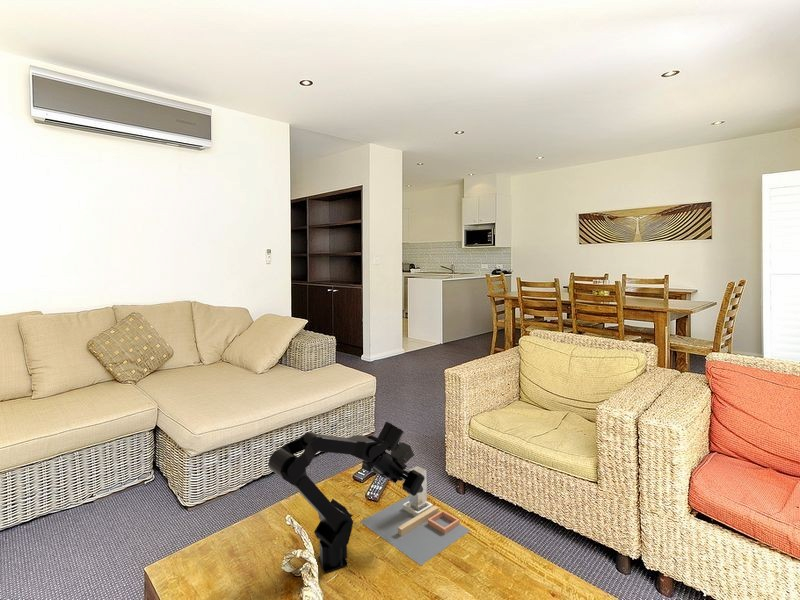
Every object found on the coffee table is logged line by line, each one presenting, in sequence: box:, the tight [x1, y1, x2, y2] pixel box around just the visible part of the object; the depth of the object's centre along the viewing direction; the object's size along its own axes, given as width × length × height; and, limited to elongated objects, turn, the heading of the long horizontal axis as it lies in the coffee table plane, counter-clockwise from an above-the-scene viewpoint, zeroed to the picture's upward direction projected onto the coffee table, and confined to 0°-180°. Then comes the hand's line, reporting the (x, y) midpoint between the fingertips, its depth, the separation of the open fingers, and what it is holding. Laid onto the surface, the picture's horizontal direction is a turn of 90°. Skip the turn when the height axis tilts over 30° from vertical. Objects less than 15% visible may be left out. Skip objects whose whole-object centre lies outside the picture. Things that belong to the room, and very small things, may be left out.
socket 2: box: [428, 509, 461, 534], centre depth 131 cm, size 7×7×2 cm
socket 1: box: [403, 501, 434, 516], centre depth 140 cm, size 7×7×2 cm
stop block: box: [408, 465, 428, 512], centre depth 139 cm, size 4×4×13 cm
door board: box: [360, 495, 472, 566], centre depth 131 cm, size 21×26×4 cm
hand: (412, 484), depth 137 cm, fingers open, 9 cm apart
